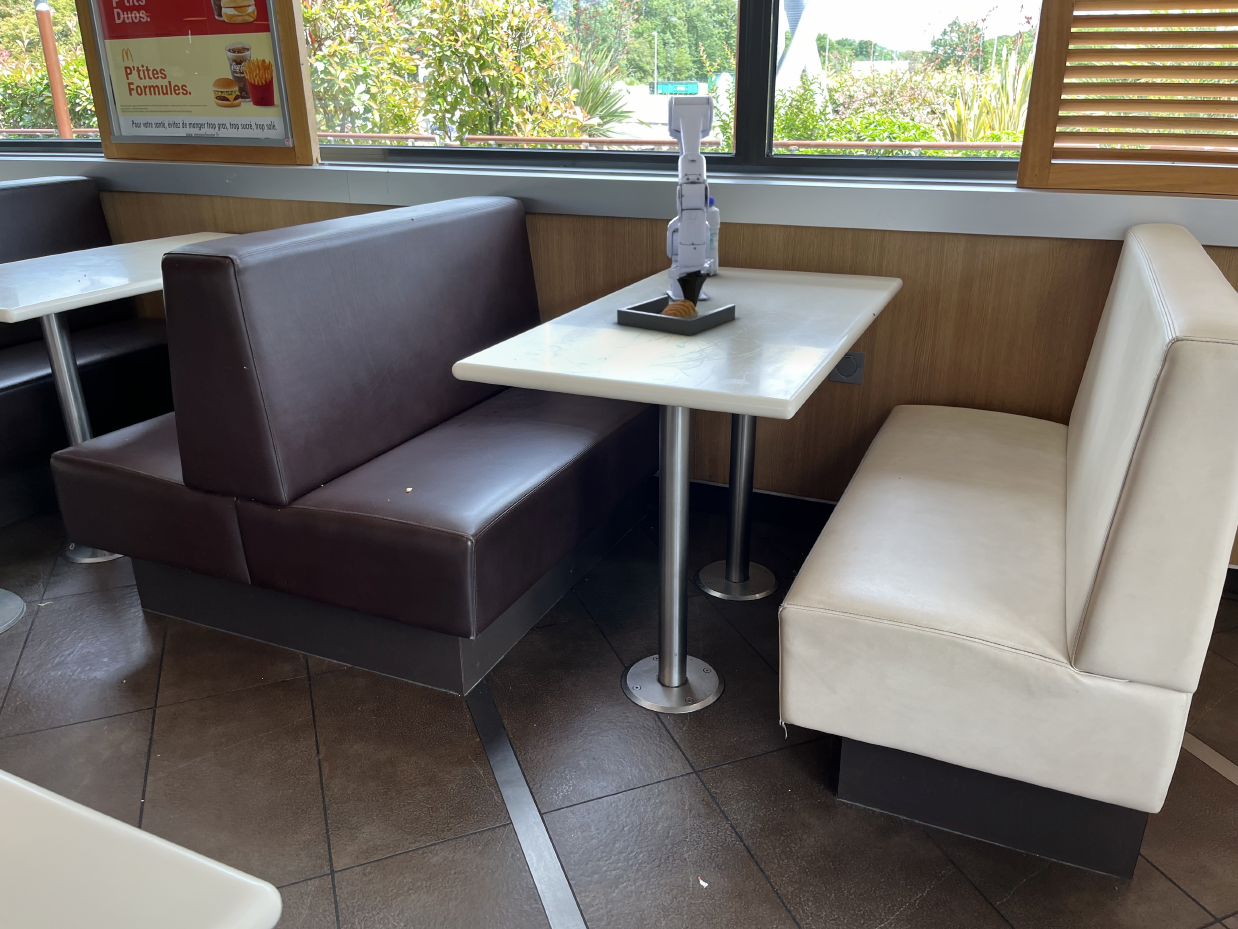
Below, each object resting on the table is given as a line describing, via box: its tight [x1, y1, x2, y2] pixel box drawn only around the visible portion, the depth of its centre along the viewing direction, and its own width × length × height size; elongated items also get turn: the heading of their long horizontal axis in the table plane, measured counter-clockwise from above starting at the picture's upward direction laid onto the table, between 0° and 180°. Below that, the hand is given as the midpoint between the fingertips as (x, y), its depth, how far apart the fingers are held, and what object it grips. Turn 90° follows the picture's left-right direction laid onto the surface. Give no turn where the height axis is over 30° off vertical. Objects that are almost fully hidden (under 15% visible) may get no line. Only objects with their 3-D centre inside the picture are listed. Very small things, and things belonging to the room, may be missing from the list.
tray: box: [616, 294, 736, 337], centre depth 188 cm, size 18×18×3 cm
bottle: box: [703, 195, 721, 276], centre depth 234 cm, size 7×7×20 cm
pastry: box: [661, 300, 699, 319], centre depth 188 cm, size 9×7×4 cm
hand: (690, 307), depth 192 cm, fingers closed
